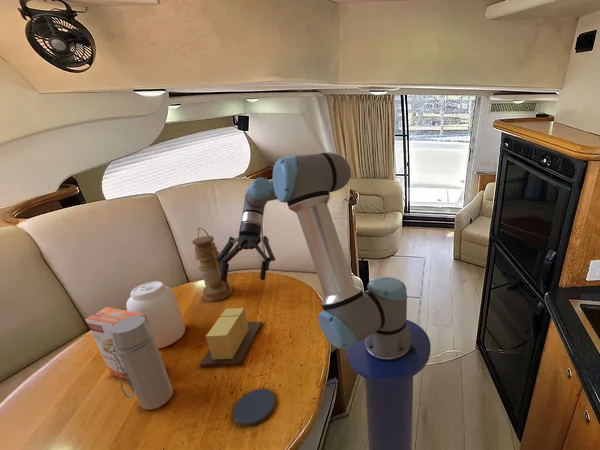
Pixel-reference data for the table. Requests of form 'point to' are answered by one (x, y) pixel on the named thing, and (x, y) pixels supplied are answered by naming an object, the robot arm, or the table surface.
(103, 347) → the cracker box
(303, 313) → the table surface
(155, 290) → the white jar
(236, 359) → the butter board
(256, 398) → the plate
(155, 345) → the water bottle
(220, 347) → the butter block
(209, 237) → the lantern
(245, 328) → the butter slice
